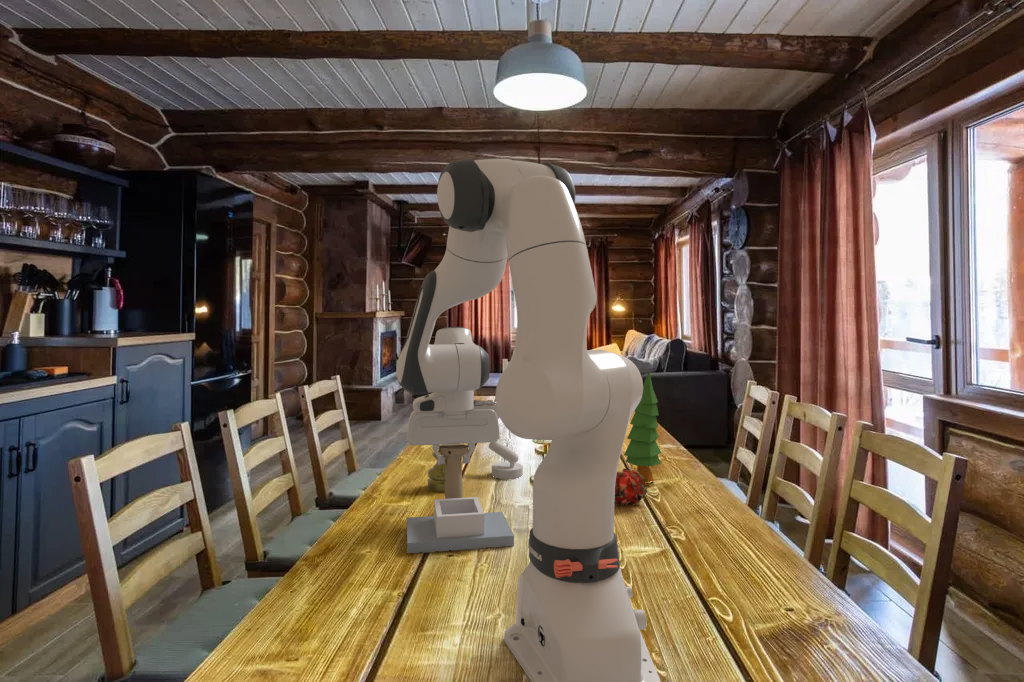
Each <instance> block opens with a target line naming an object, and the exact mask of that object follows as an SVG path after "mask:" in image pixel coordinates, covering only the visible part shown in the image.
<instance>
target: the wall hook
mask: <svg viewBox="0 0 1024 682" xmlns="http://www.w3.org/2000/svg"><path fill="white" fill-rule="evenodd" d="M488 448H489V449H490V450H491V451H493V452H494V453H496V454H497V455H498V456H500V457H501V458H503V459H504V460H505V461H502V462H501V461H500V462H496V463H494V464H492V465H491V476H492V477H493V476H494V477H496V478H495V479H497V478H500V479H499V480H504V479H511V480H517V479H516V478H518V479H520V478H519V477H521V476H522V475H523V476H524V469H523V468H524V466H523V464H521V463H519V462H518V461H519V454H517V453H516V452H515V451H513V450H512V449H511V448H509V447H508V446H506V445H505V444H503V443H502V442H500V441H499V440H498V441H497V442H489V444H488ZM523 476H522V477H523ZM494 477H493V478H494ZM522 477H521V478H522Z"/></svg>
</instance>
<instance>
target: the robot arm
mask: <svg viewBox="0 0 1024 682" xmlns="http://www.w3.org/2000/svg"><path fill="white" fill-rule="evenodd" d="M436 192H437V193H436V197H437V205H438V209H439V214H440V216H441V218H442V220H443V221H444V222H445V223H446V224H447V225H448V226H449V228H448V232H447V233H448V234H447V239H446V249H445V252H444V256H443V258H442V260H441V261H440V263H439V264H438V266H437V267H436V268H435V269H434V270H432V271H429V272H428V273H427V274H426V276H425V277H424V279H423V281H422V283H421V286H420V289H419V292H418V294H417V298H416V301H415V302H416V303H415V305H414V307H413V312H412V315H411V319H410V323H409V327H408V330H407V335H406V338H405V340H404V344H403V346H402V348H401V351H400V353H399V357H398V359H397V362H396V378H397V382H398V384H399V386H400V387H401V388H402V389H403V390H405V391H406V392H407V393H409V394H411V395H413V396H417V395H423V396H419V397H417V398H414V399H413V401H412V409H413V411H411V413H410V415H409V419H408V422H407V431H406V432H407V434H406V441H407V443H408V444H409V445H410V446H414V447H415V446H432V451H433V452H435V454H436V456H437V457H438V465H444V464H445V461H444V460H445V456H444V455H440V453H439V452H438V450H439V446H440V445H442V444H464V445H465V444H467V445H468V452H467V453H466V454H465V455H463V456H462V464H471V456H472V453H473V452H474V450H475V449H476V444H484V443H485V444H486V443H487V444H488V443H489V444H490V442H497V441H499V439H500V438H501V435H500V434H501V433H500V424H499V418H500V421H501V422H502V424H503V425H504V427H505V428H506V429H507V430H508V431H509V432H510V433H511V434H513V435H514V436H516V437H518V438H521V439H525V440H532V441H533V440H535V441H550V444H549V447H548V449H547V451H546V454H545V456H544V457H543V459H542V461H541V462H540V463H539V464H538V466H537V468H536V469H535V473H534V476H533V480H532V528H531V529H530V530H529V539H528V546H527V547H528V558H529V561H528V565H527V566H526V567H525V569H524V570H523V571H522V572H521V573H520V575H519V576H518V578H517V579H518V580H517V591H516V592H517V593H516V595H517V596H516V607H515V608H516V609H515V610H516V612H515V623H514V624H512V625H510V626H509V627H508V628H506V629H505V630H504V633H503V634H504V636H503V641H504V643H505V644H506V646H507V647H508V649H509V650H510V652H511V653H512V654H513V656H514V658H515V659H516V661H517V662H518V664H519V665H520V667H521V668H522V670H523V672H524V673H525V674H526V676H527V677H528V678H529V680H530V682H661V678H660V676H659V674H658V671H657V669H656V666H655V664H654V661H653V659H652V657H651V654H650V652H649V649H648V647H647V645H646V642H645V640H644V637H643V635H642V633H641V632H642V631H641V630H646V629H647V615H646V612H645V610H644V609H641V608H640V609H633V604H632V600H631V599H632V598H633V595H634V593H633V589H632V586H626V583H625V580H624V577H623V573H622V568H621V562H620V556H619V555H620V549H619V544H618V540H617V539H618V537H617V534H616V532H615V531H614V529H615V504H616V501H615V483H616V474H617V472H618V469H619V463H620V459H621V454H622V451H623V447H624V443H625V439H626V435H627V431H628V428H629V424H630V423H631V420H632V419H631V418H632V416H633V415H634V412H635V409H636V407H637V406H638V404H639V403H640V401H641V398H642V394H643V385H644V382H643V377H642V375H641V372H640V370H639V368H638V367H637V366H636V364H635V363H634V362H633V361H632V360H631V359H629V358H628V357H626V356H624V355H622V354H618V353H616V352H612V351H609V350H605V349H604V350H603V349H592V350H588V347H587V344H588V343H587V335H588V333H587V331H588V323H589V318H590V315H591V313H592V312H593V311H594V309H595V307H596V306H597V301H598V300H597V299H598V297H597V296H598V295H597V291H596V286H595V280H594V275H593V269H592V267H591V262H590V256H589V253H588V251H589V250H588V246H587V243H586V238H585V234H584V230H583V227H582V223H581V219H580V217H579V214H578V211H577V209H576V205H575V204H576V188H575V184H574V182H573V179H572V177H571V175H570V173H569V171H567V169H565V168H563V167H561V166H559V165H556V164H553V163H549V162H542V163H537V162H533V161H532V162H531V161H523V160H514V159H513V160H512V159H511V158H487V159H475V160H473V159H472V158H465V159H463V158H462V159H459V160H454V161H451V162H449V163H447V164H446V165H445V167H444V168H443V170H442V171H441V173H440V175H439V179H438V182H437V190H436ZM507 262H508V266H509V271H510V276H511V283H512V287H513V292H514V293H513V294H514V300H515V301H514V302H515V307H516V318H517V319H516V322H517V323H516V335H515V343H514V347H513V351H512V355H511V357H510V358H511V359H510V361H509V362H508V365H507V366H506V367H505V369H504V370H503V372H502V373H501V375H500V376H499V379H498V381H497V383H496V388H495V401H494V400H493V399H488V400H479V399H478V400H477V399H476V400H474V396H475V395H474V394H475V393H474V392H475V390H480V389H481V388H482V387H483V386H484V385H486V384H487V382H488V381H489V379H490V355H489V354H488V353H489V352H487V351H486V350H485V349H484V347H482V346H480V345H478V344H476V343H474V342H473V336H472V331H471V329H469V328H467V327H463V326H449V327H443V328H440V329H437V331H436V333H435V340H434V343H433V344H430V342H431V338H432V335H433V333H434V328H435V325H436V321H437V319H438V318H439V317H440V316H441V315H442V313H444V312H445V311H447V310H449V309H451V308H453V307H455V306H459V305H460V304H463V303H467V302H470V301H474V300H477V299H480V298H482V297H484V296H486V295H488V294H490V293H491V292H492V291H494V290H495V289H496V288H497V287H498V286H499V285H500V284H501V282H502V279H503V277H504V275H505V271H506V267H507ZM425 394H426V395H425Z"/></svg>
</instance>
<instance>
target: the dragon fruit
mask: <svg viewBox="0 0 1024 682" xmlns="http://www.w3.org/2000/svg"><path fill="white" fill-rule="evenodd" d="M645 486H646V484H645V478H644V477H643V476H642V475H640V474H639V473H638V471H637V469H632V470H629V469H628V468H623V469H622V472H621V471H617V474H616V483H615V504H616V506H624V505H623V504H625V505H629V504H630V503H631V504H632V503H633V504H635V505H637V504H638V503H640V502H641V500H643V498H644V496H646V495H647V493H648V490H646V489H645ZM633 504H632V505H633Z"/></svg>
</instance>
